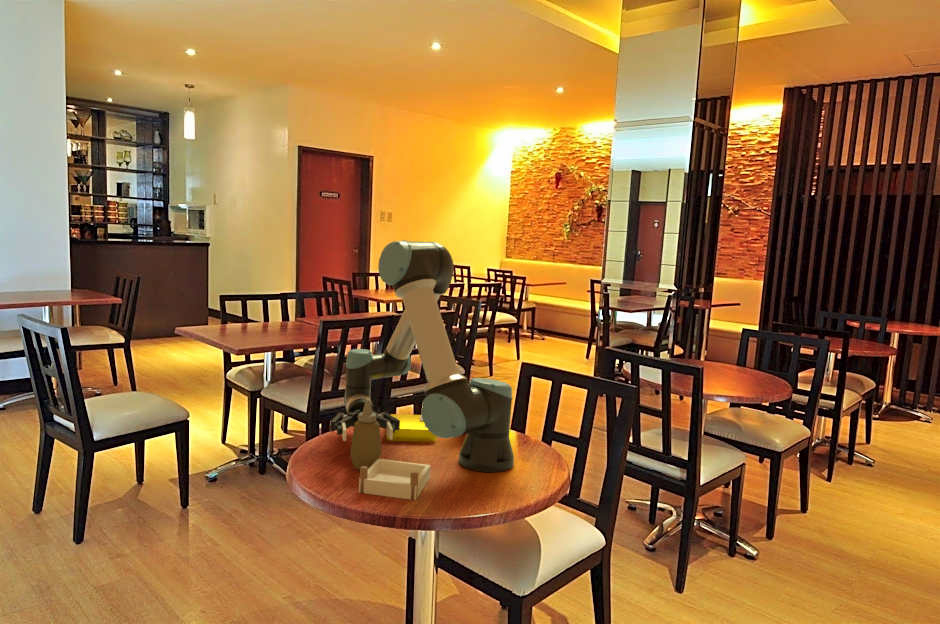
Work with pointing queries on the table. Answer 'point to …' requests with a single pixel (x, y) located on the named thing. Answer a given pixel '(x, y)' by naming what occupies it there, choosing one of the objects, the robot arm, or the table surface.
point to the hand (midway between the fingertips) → (368, 435)
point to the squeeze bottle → (366, 438)
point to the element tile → (412, 429)
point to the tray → (394, 479)
